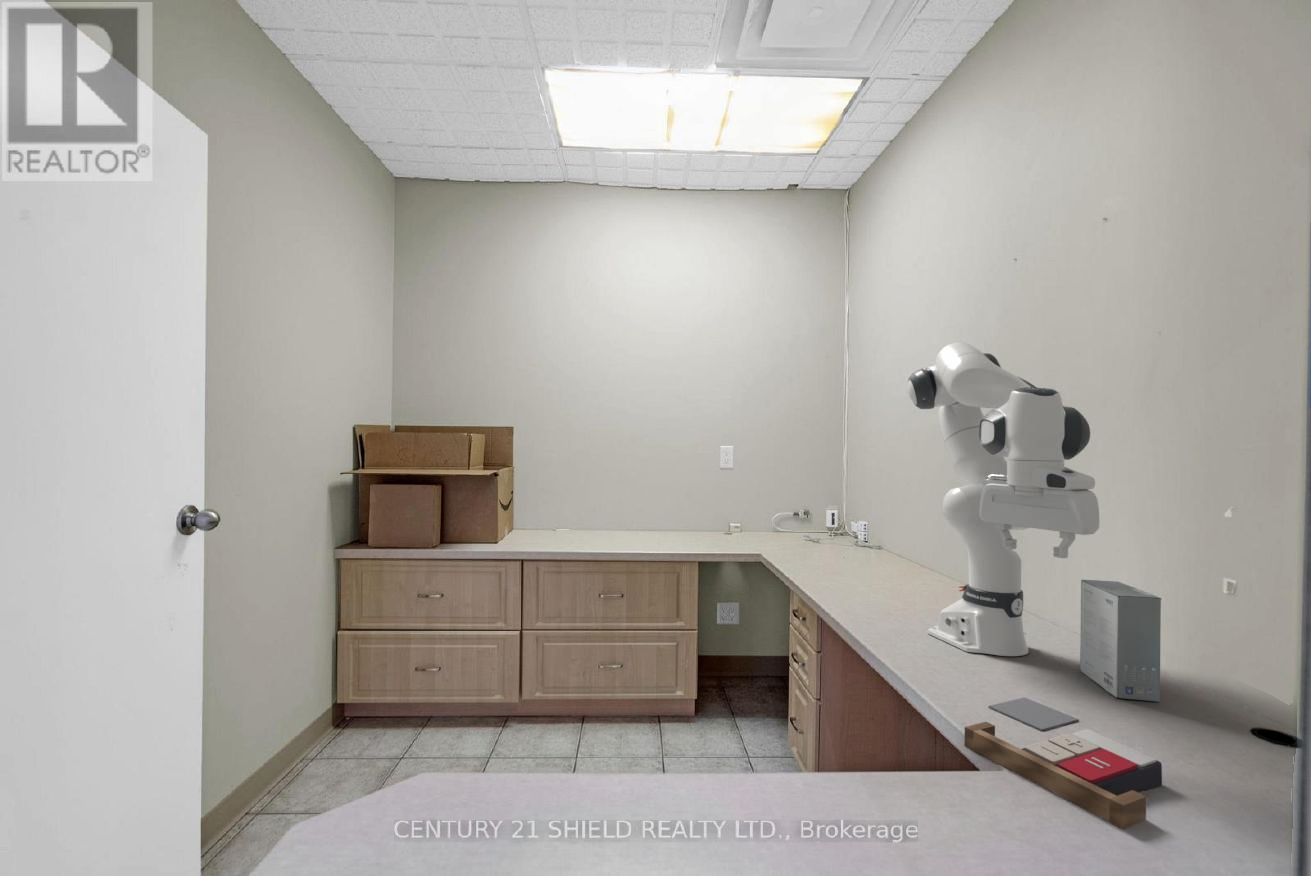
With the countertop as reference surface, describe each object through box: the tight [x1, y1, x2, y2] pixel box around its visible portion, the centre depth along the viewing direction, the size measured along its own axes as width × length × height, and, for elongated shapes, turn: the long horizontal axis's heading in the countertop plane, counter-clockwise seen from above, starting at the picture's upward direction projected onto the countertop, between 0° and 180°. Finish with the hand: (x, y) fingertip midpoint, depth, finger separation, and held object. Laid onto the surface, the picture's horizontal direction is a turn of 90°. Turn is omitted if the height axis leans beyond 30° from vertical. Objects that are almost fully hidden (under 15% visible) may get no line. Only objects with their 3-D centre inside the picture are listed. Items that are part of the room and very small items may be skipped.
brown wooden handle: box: [963, 721, 1147, 830], centre depth 90 cm, size 23×5×3 cm, turn 24°
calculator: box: [1021, 728, 1163, 796], centre depth 91 cm, size 11×4×15 cm
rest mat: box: [988, 697, 1079, 732], centre depth 111 cm, size 10×10×1 cm
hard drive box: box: [1079, 579, 1162, 702], centre depth 125 cm, size 16×8×20 cm, turn 168°
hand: (1034, 552), depth 111 cm, fingers open, 8 cm apart
